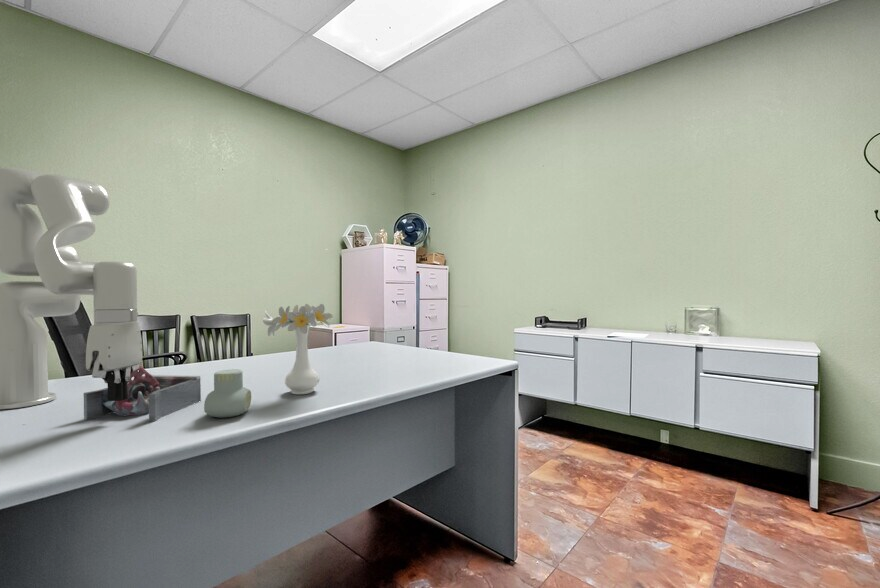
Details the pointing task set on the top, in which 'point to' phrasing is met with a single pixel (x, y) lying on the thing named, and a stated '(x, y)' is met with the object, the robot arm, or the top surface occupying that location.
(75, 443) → the top surface
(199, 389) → the bracket
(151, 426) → the top surface
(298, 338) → the flower vase
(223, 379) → the grey rounded piece
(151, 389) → the red and grey figure
